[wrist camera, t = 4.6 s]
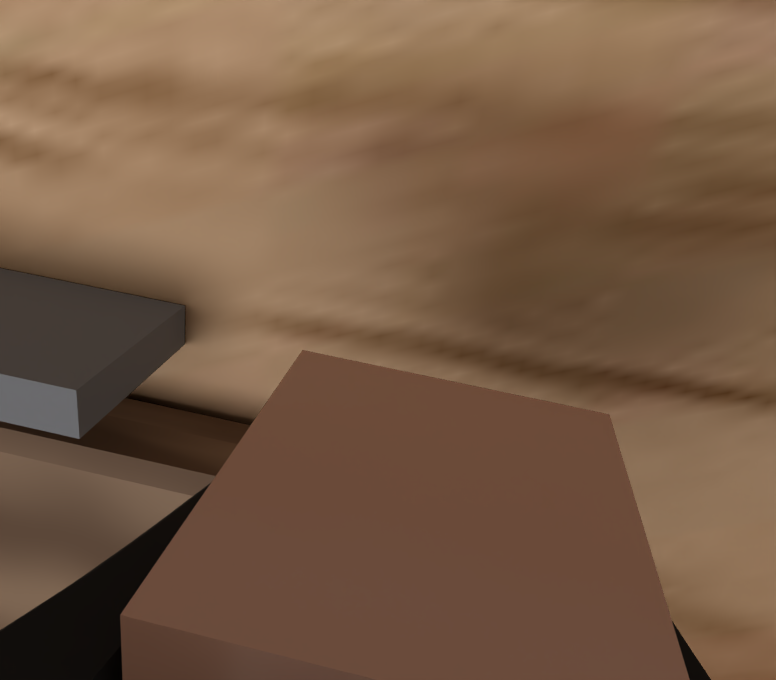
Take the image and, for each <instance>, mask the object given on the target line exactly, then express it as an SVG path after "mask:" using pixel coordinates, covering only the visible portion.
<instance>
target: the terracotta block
mask: <svg viewBox="0 0 776 680" xmlns="http://www.w3.org/2000/svg"><path fill="white" fill-rule="evenodd" d="M120 624H121V652H122V680H690V679H689V676H688V672H687V669H686V666H685V663H684V659H683V656H682V653H681V649H680V646H679V643H678V639H677V636H676V633H675V630H674V626H673V623H672V620H671V616H670V613H669V610H668V607H667V603H666V600H665V597H664V593H663V590H662V587H661V583H660V580H659V577H658V574H657V570H656V567H655V564H654V560H653V557H652V554H651V550H650V547H649V544H648V541H647V537H646V534H645V531H644V527H643V524H642V521H641V517H640V514H639V511H638V508H637V504H636V501H635V498H634V494H633V491H632V488H631V484H630V481H629V478H628V475H627V471H626V468H625V465H624V461H623V458H622V455H621V451H620V448H619V445H618V442H617V438H616V435H615V432H614V428H613V425H612V422H611V418H610V415H609V414H605V413H600V412H595V411H590V410H586V409H581V408H576V407H571V406H566V405H562V404H557V403H552V402H547V401H543V400H538V399H533V398H528V397H524V396H519V395H514V394H509V393H504V392H500V391H495V390H490V389H485V388H481V387H476V386H471V385H466V384H462V383H457V382H452V381H447V380H442V379H438V378H433V377H428V376H423V375H419V374H414V373H409V372H404V371H400V370H395V369H390V368H385V367H380V366H376V365H371V364H366V363H361V362H357V361H352V360H347V359H342V358H338V357H333V356H328V355H323V354H319V353H314V352H309V351H304V350H302V352H301V353H300V354H299V356H298V357H297V359H296V360H295V362H294V363H293V365H292V366H291V368H290V369H289V370H288V372H287V373H286V375H285V376H284V378H283V379H282V381H281V382H280V384H279V385H278V386H277V388H276V389H275V391H274V392H273V394H272V395H271V397H270V398H269V400H268V401H267V402H266V404H265V405H264V407H263V408H262V410H261V411H260V413H259V414H258V415H257V417H256V418H255V420H254V421H253V423H252V424H251V426H250V427H249V429H248V430H247V431H246V433H245V434H244V436H243V437H242V439H241V440H240V442H239V443H238V445H237V446H236V447H235V449H234V450H233V452H232V453H231V455H230V456H229V458H228V459H227V460H226V462H225V463H224V465H223V466H222V468H221V469H220V471H219V472H218V474H217V475H216V476H215V478H214V479H213V481H212V482H211V484H210V485H209V487H208V488H207V490H206V491H205V492H204V494H203V495H202V497H201V498H200V500H199V501H198V503H197V504H196V506H195V507H194V508H193V510H192V511H191V513H190V514H189V516H188V517H187V519H186V520H185V521H184V523H183V524H182V526H181V527H180V529H179V530H178V532H177V533H176V535H175V536H174V537H173V539H172V540H171V542H170V543H169V545H168V546H167V548H166V549H165V551H164V552H163V553H162V555H161V556H160V558H159V559H158V561H157V562H156V564H155V565H154V566H153V568H152V569H151V571H150V572H149V574H148V575H147V577H146V578H145V580H144V581H143V582H142V584H141V585H140V587H139V588H138V590H137V591H136V593H135V594H134V596H133V597H132V598H131V600H130V601H129V603H128V604H127V606H126V607H125V609H124V610H123V612H122V613H121V614H120Z"/></svg>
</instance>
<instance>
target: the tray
mask: <svg viewBox="0 0 776 680" xmlns="http://www.w3.org/2000/svg"><path fill="white" fill-rule="evenodd" d="M250 426H251V425H247V424H242V423H238V422H233V421H228V420H224V419H219V418H215V417H210V416H205V415H201V414H196V413H192V412H187V411H183V410H178V409H173V408H169V407H164V406H160V405H155V404H150V403H146V402H141V401H137V400H132V399H128V398H125V399H123V400H122V401H121V402H120V403H119V404H118V405H117V406H116V407H115V408H113V409H112V410H111V411H110V412H109V413H108V414H107V415H106V416H105V417H103V418H102V419H101V420H100V421H99V422H98V423H97V424H96V425H95V426H93V427H92V428H91V429H90V430H89V431H88V432H87V433H86V434H85V435H83V436H82V437H81V438H80V439H77V438H73V437H69V436H64V435H60V434H55V433H51V432H46V431H42V430H38V429H33V428H29V427H24V426H20V425H15V424H11V423H7V422H2V421H0V630H1V629H3V628H4V627H6V626H7V625H9V624H10V623H12V622H13V621H15V620H17V619H18V618H20V617H21V616H23V615H24V614H26V613H27V612H29V611H31V610H32V609H34V608H35V607H37V606H38V605H40V604H41V603H43V602H44V601H46V600H48V599H49V598H51V597H52V596H54V595H55V594H57V593H58V592H60V591H62V590H63V589H65V588H66V587H68V586H69V585H71V584H72V583H74V582H75V581H77V580H78V579H79V578H81V577H82V576H84V575H85V574H87V573H88V572H89V571H91V570H92V569H94V568H95V567H97V566H98V565H99V564H101V563H102V562H104V561H105V560H107V559H108V558H109V557H111V556H112V555H114V554H115V553H116V552H118V551H119V550H121V549H122V548H124V547H125V546H126V545H128V544H129V543H131V542H132V541H133V540H135V539H136V538H137V537H139V536H140V535H142V534H143V533H144V532H146V531H147V530H148V529H150V528H151V527H152V526H154V525H155V524H156V523H158V522H159V521H160V520H162V519H163V518H164V517H166V516H167V515H168V514H170V513H171V512H172V511H174V510H175V509H176V508H178V507H179V506H180V505H182V504H183V503H184V502H186V501H187V500H188V499H190V498H191V497H192V496H194V495H195V494H196V493H198V492H199V491H200V490H202V489H203V488H204V487H206V486H207V485H208V484H210V483H211V482H212V481H213V479H214V478H215V476H216V475H217V474H218V472H219V471H220V469H221V468H222V466H223V465H224V463H225V462H226V460H227V459H228V458H229V456H230V455H231V453H232V452H233V450H234V449H235V447H236V446H237V445H238V443H239V442H240V440H241V439H242V437H243V436H244V434H245V433H246V431H247V430H248V429H249V427H250Z"/></svg>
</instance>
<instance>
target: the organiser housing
mask: <svg viewBox="0 0 776 680" xmlns="http://www.w3.org/2000/svg"><path fill="white" fill-rule="evenodd" d="M183 345H185V306H184V305H179V304H174V303H170V302H165V301H160V300H155V299H150V298H145V297H140V296H135V295H130V294H125V293H120V292H115V291H110V290H106V289H101V288H96V287H91V286H86V285H81V284H76V283H71V282H66V281H61V280H56V279H51V278H46V277H42V276H37V275H32V274H27V273H22V272H17V271H12V270H7V269H2V268H0V421H2V422H7V423H11V424H15V425H20V426H24V427H29V428H33V429H38V430H42V431H46V432H51V433H55V434H60V435H64V436H69V437H73V438H77V439H80V438H81V437H82V436H83V435H85V434H86V433H87V432H88V431H89V430H90V429H91V428H92V427H93V426H95V425H96V424H97V423H98V422H99V421H100V420H101V419H102V418H103V417H105V416H106V415H107V414H108V413H109V412H110V411H111V410H112V409H113V408H115V407H116V406H117V405H118V404H119V403H120V402H121V401H122V400H123V399H125V398H126V397H127V396H128V395H129V394H130V393H131V392H132V391H133V390H135V389H136V388H137V387H138V386H139V385H140V384H141V383H142V382H143V381H145V380H146V379H147V378H148V377H149V376H150V375H151V374H152V373H153V372H155V371H156V370H157V369H158V368H159V367H160V366H161V365H162V364H163V363H165V362H166V361H167V360H168V359H169V358H170V357H171V356H172V355H173V354H175V353H176V352H177V351H178V350H179V349H180V348H181V347H182V346H183Z"/></svg>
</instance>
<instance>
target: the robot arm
mask: <svg viewBox="0 0 776 680" xmlns="http://www.w3.org/2000/svg"><path fill="white" fill-rule="evenodd" d="M210 484H211V483H210ZM210 484H208V485H207V486H206V487H204V488H203V489H202V490H200V491H199V492H198V493H196V494H195V495H194V496H192V497H191V498H190V499H188V500H187V501H186V502H184V503H183V504H182V505H180V506H179V507H178V508H176V509H175V510H174V511H172V512H171V513H170V514H168V515H167V516H166V517H164V518H163V519H162V520H160V521H159V522H158V523H156V524H155V525H154V526H152V527H151V528H150V529H148V530H147V531H146V532H144V533H143V534H142V535H140V536H139V537H137V538H136V539H135V540H133V541H132V542H131V543H129V544H128V545H126V546H125V547H124V548H122V549H121V550H119V551H118V552H116V553H115V554H114V555H112V556H111V557H109V558H108V559H107V560H105V561H104V562H102V563H101V564H99V565H98V566H97V567H95V568H94V569H92V570H91V571H89V572H88V573H87V574H85V575H84V576H82V577H81V578H79V579H78V580H77V581H75V582H74V583H72V584H71V585H69V586H68V587H66V588H65V589H63V590H62V591H60V592H58V593H57V594H55V595H54V596H52V597H51V598H49V599H48V600H46V601H44V602H43V603H41V604H40V605H38V606H37V607H35V608H34V609H32V610H31V611H29V612H27V613H26V614H24V615H23V616H21V617H20V618H18V619H17V620H15V621H13V622H12V623H10V624H9V625H7V626H6V627H4V628H3V629H1V630H0V680H122V652H121V624H120V614H121V613H122V612H123V610H124V609H125V607H126V606H127V604H128V603H129V601H130V600H131V598H132V597H133V596H134V594H135V593H136V591H137V590H138V588H139V587H140V585H141V584H142V582H143V581H144V580H145V578H146V577H147V575H148V574H149V572H150V571H151V569H152V568H153V566H154V565H155V564H156V562H157V561H158V559H159V558H160V556H161V555H162V553H163V552H164V551H165V549H166V548H167V546H168V545H169V543H170V542H171V540H172V539H173V537H174V536H175V535H176V533H177V532H178V530H179V529H180V527H181V526H182V524H183V523H184V521H185V520H186V519H187V517H188V516H189V514H190V513H191V511H192V510H193V508H194V507H195V506H196V504H197V503H198V501H199V500H200V498H201V497H202V495H203V494H204V492H205V491H206V490H207V488H208V487H209V485H210ZM672 623H673V622H672ZM673 626H674V630H675V633H676V636H677V639H678V643H679V646H680V649H681V653H682V656H683V659H684V663H685V666H686V669H687V672H688V676H689V679H690V680H711V679H710V678H709V676H708V675H707V673H706V672H705V670H704V669H703V667H702V666H701V664H700V663H699V661H698V660H697V658H696V657H695V655H694V654H693V652H692V650H691V649H690V647H689V646H688V644H687V643H686V641H685V640H684V638H683V637H682V635H681V634H680V632H679V631H678V629H677V628H676V626H675V625H674V623H673Z"/></svg>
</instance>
